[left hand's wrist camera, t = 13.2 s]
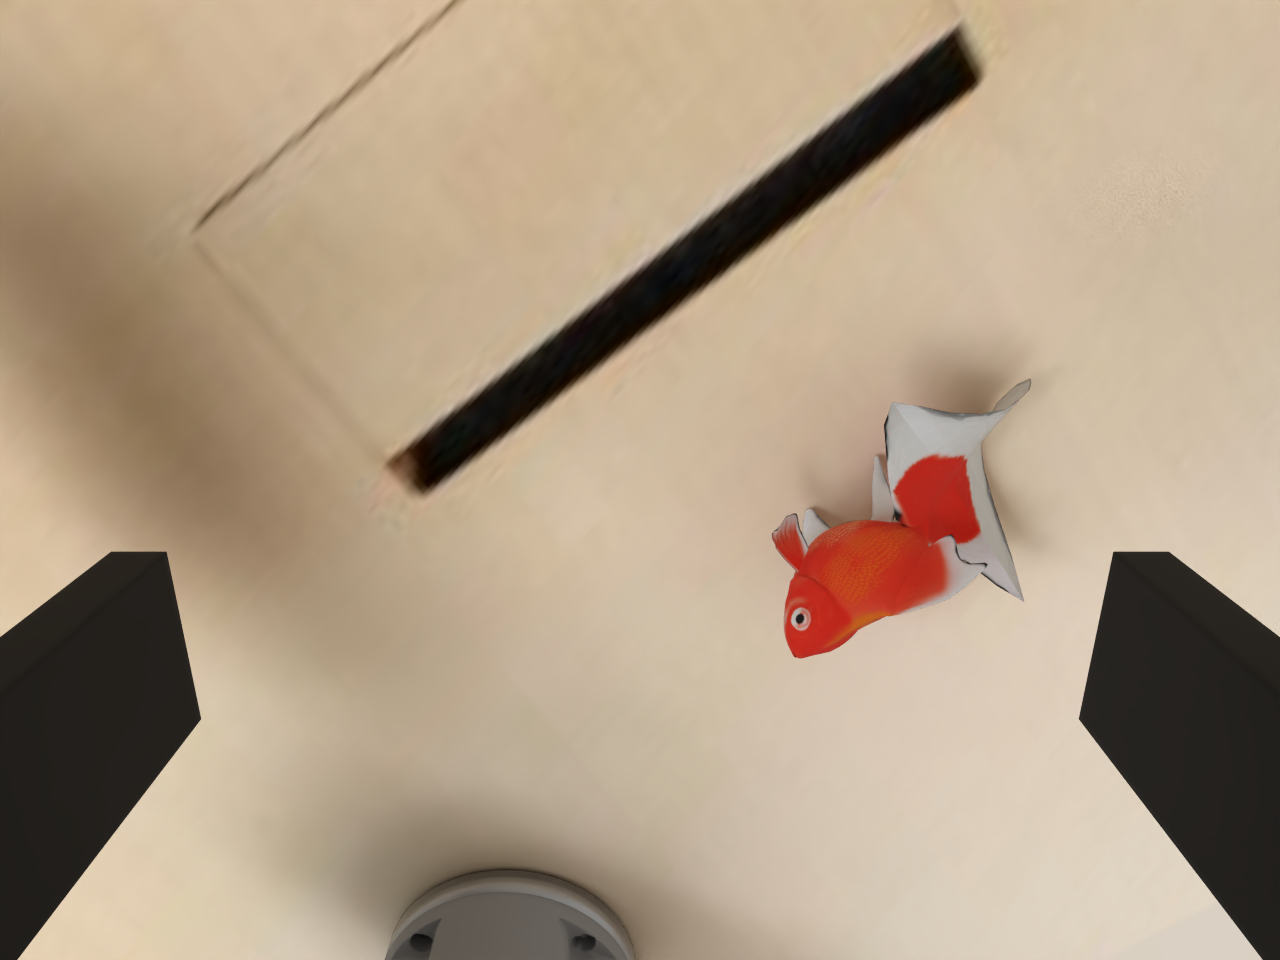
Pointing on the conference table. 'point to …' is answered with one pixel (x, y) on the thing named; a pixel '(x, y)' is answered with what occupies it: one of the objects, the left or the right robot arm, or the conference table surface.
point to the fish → (901, 532)
